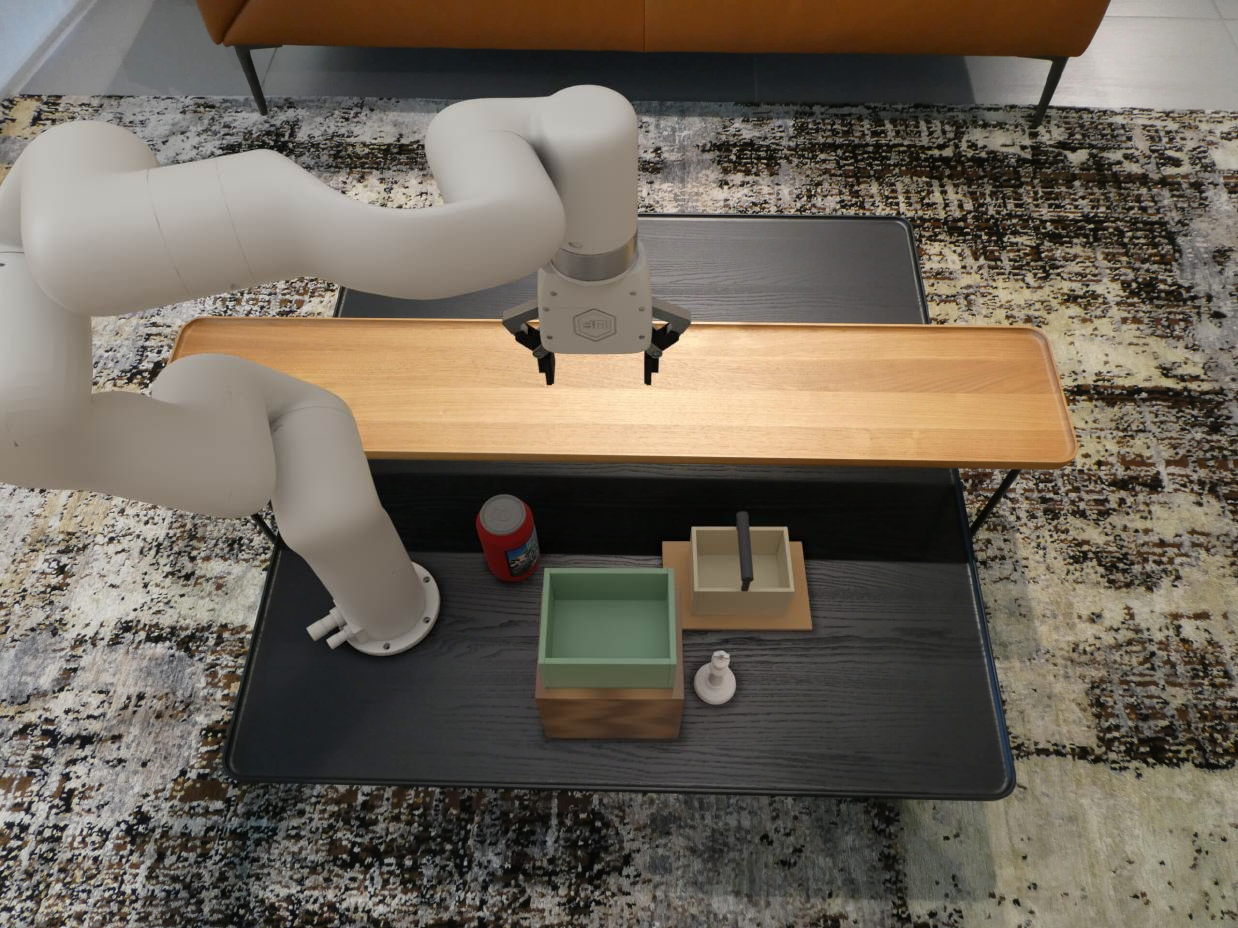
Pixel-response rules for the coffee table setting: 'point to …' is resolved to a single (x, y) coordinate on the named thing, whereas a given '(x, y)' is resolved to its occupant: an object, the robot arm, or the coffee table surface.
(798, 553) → the cork mat
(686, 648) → the coffee table surface
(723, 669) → the chess piece
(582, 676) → the green bin
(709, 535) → the cream bin
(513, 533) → the beverage can
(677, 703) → the wooden block
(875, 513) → the coffee table surface
